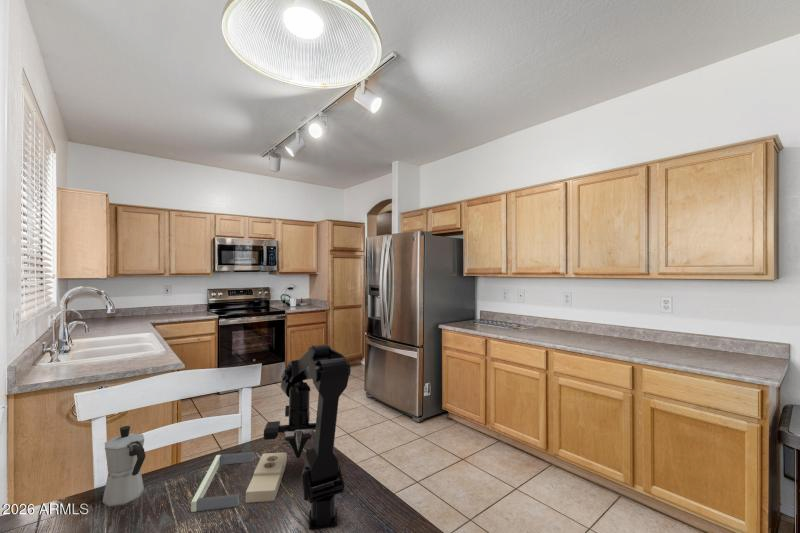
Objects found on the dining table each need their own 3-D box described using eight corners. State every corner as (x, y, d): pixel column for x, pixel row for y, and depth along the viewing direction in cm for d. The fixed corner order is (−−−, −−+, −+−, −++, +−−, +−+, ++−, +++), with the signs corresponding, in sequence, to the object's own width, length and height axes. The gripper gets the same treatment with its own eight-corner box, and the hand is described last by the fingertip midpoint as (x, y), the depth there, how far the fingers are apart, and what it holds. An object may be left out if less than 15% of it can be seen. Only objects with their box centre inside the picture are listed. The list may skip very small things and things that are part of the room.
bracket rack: (237, 506, 92) (237, 496, 92) (190, 512, 90) (191, 501, 90) (253, 459, 115) (253, 451, 115) (216, 463, 112) (216, 455, 112)
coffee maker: (91, 497, 95) (92, 428, 95) (129, 480, 103) (130, 416, 103) (121, 517, 88) (123, 441, 88) (160, 496, 96) (161, 427, 96)
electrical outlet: (245, 488, 94) (262, 453, 112) (245, 504, 94) (262, 466, 112) (274, 486, 95) (286, 451, 113) (274, 502, 95) (286, 465, 113)
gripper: (331, 392, 116) (330, 441, 116) (269, 396, 112) (268, 447, 112) (332, 405, 105) (331, 460, 105) (263, 410, 101) (262, 466, 101)
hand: (298, 457), depth 106 cm, fingers closed
